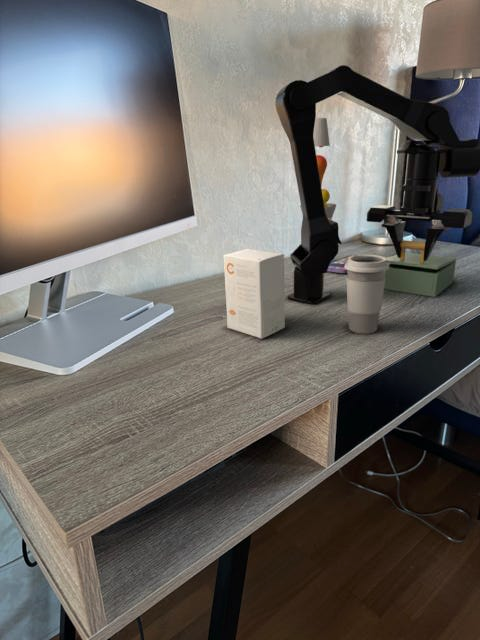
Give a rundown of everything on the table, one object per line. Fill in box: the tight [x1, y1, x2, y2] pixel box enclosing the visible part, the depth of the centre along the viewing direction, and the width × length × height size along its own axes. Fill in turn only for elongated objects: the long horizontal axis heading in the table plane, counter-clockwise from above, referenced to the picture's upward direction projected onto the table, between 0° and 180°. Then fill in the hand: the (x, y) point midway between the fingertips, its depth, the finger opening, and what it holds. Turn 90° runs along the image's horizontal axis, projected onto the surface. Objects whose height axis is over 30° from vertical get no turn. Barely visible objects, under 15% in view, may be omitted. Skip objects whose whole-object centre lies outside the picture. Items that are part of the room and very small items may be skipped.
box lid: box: [385, 239, 457, 269], centre depth 93 cm, size 13×11×5 cm
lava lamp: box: [299, 117, 337, 263], centre depth 111 cm, size 9×9×35 cm
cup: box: [345, 253, 389, 335], centre depth 73 cm, size 7×7×12 cm
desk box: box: [384, 260, 457, 298], centre depth 95 cm, size 12×11×5 cm
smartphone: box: [327, 255, 351, 274], centre depth 113 cm, size 1×7×15 cm
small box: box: [223, 248, 286, 339], centre depth 74 cm, size 8×6×13 cm
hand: (412, 259), depth 90 cm, fingers closed on box lid, 5 cm apart
